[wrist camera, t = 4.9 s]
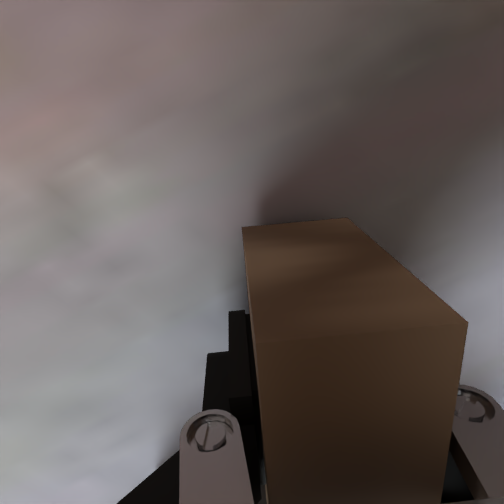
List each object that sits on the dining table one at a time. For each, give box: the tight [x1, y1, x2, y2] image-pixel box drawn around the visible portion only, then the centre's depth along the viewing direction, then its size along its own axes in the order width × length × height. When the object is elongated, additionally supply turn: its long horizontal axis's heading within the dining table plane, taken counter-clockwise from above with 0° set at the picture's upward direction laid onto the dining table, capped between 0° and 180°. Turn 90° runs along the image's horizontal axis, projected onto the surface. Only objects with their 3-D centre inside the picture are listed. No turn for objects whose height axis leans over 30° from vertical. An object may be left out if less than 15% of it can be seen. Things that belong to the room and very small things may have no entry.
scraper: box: [242, 218, 468, 504], centre depth 10 cm, size 12×11×6 cm
